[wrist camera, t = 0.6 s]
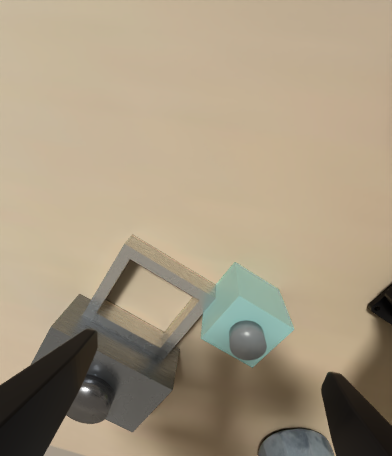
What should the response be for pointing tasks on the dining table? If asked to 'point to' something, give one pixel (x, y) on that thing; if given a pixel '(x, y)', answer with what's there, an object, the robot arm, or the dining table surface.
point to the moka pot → (296, 444)
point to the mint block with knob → (245, 316)
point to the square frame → (128, 342)
